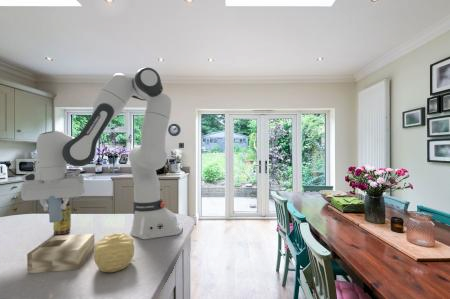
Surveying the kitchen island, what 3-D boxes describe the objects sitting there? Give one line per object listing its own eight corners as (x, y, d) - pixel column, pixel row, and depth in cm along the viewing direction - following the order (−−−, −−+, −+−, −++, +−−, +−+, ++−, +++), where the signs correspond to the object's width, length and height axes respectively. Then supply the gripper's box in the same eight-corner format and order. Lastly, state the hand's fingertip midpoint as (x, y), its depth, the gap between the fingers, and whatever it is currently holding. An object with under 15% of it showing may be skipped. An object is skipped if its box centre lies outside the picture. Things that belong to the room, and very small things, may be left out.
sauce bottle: (61, 236, 99) (61, 190, 99) (49, 235, 101) (49, 189, 100) (74, 230, 106) (74, 187, 106) (63, 229, 107) (62, 186, 107)
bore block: (94, 249, 87) (94, 233, 86) (78, 268, 73) (78, 249, 73) (52, 252, 84) (52, 236, 84) (27, 273, 70) (27, 253, 70)
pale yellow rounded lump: (92, 281, 66) (91, 243, 66) (96, 262, 77) (96, 229, 77) (135, 272, 71) (134, 237, 71) (133, 255, 82) (133, 225, 82)
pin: (64, 218, 91) (62, 193, 91) (59, 221, 87) (57, 195, 87) (52, 219, 90) (51, 194, 90) (47, 223, 86) (45, 196, 86)
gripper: (86, 171, 93) (88, 205, 94) (27, 174, 89) (30, 209, 90) (79, 173, 87) (81, 209, 87) (16, 176, 83) (19, 215, 83)
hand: (55, 209), depth 89 cm, fingers closed on pin, 4 cm apart
